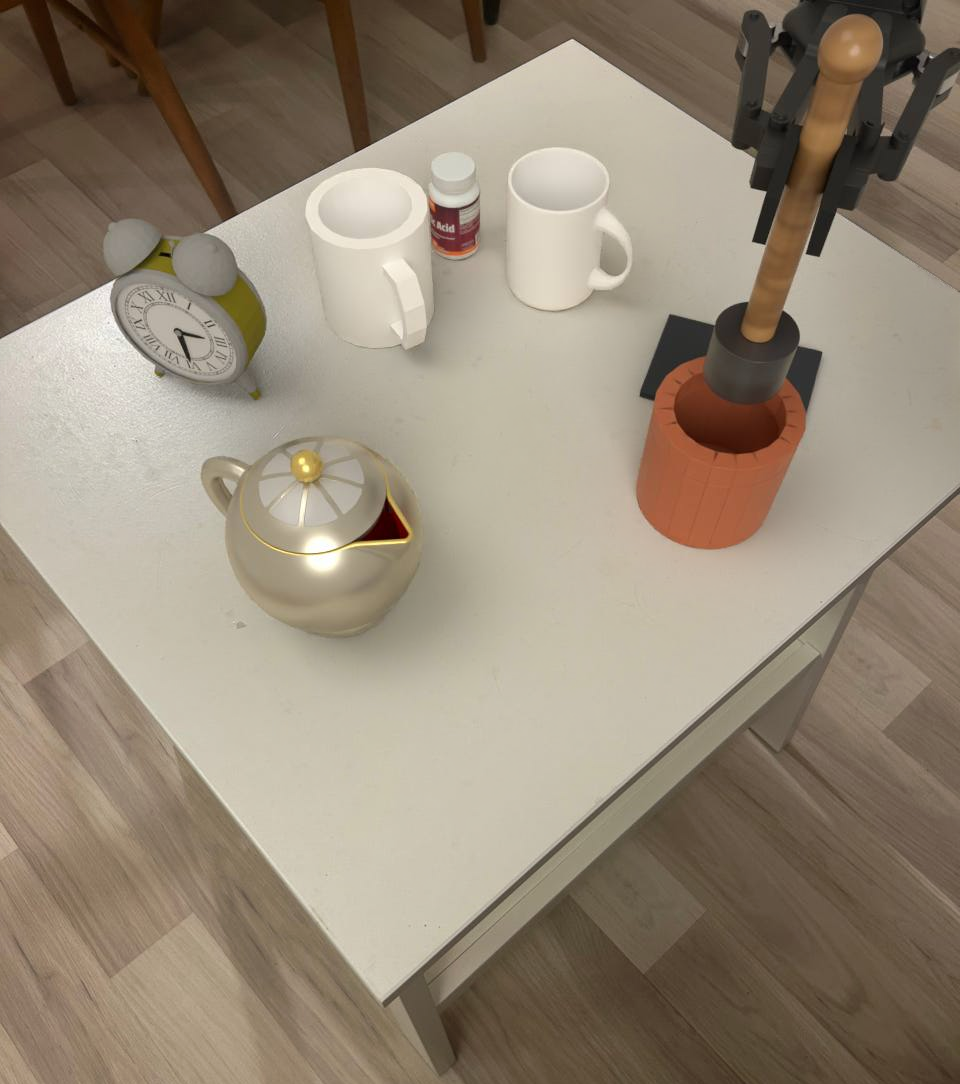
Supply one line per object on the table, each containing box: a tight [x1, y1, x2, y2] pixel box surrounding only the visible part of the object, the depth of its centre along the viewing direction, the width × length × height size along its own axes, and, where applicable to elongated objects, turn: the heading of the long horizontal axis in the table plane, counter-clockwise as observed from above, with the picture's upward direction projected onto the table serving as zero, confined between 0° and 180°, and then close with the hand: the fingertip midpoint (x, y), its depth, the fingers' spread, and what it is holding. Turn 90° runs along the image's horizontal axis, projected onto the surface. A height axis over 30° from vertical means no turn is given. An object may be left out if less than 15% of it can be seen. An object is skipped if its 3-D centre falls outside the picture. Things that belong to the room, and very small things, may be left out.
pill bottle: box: [427, 151, 481, 261], centre depth 87 cm, size 5×5×8 cm
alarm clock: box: [102, 218, 268, 400], centre depth 76 cm, size 12×7×15 cm, turn 73°
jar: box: [635, 356, 807, 550], centre depth 72 cm, size 11×11×10 cm
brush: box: [703, 14, 883, 405], centre depth 55 cm, size 6×6×24 cm
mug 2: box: [505, 146, 634, 312], centre depth 83 cm, size 9×12×11 cm
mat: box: [639, 313, 824, 415], centre depth 82 cm, size 14×10×1 cm
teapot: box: [200, 435, 424, 639], centre depth 65 cm, size 18×14×16 cm
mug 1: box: [305, 167, 435, 351], centre depth 81 cm, size 14×10×11 cm
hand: (792, 227), depth 48 cm, fingers closed on brush, 2 cm apart
